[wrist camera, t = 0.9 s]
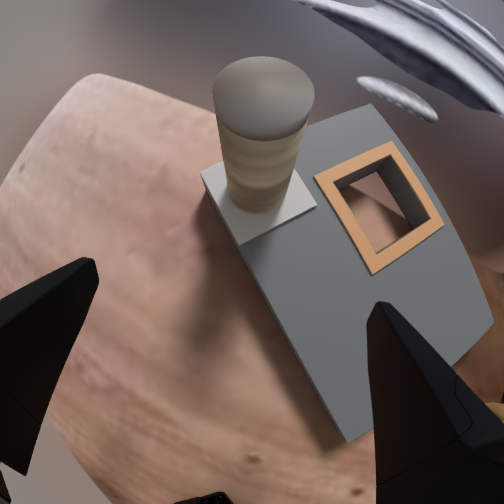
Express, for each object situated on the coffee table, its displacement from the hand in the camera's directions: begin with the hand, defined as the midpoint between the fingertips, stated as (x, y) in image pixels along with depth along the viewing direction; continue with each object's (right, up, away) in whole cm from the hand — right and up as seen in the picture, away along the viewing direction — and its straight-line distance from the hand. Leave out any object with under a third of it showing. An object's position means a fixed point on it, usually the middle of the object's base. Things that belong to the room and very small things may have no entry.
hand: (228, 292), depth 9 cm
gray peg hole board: (+9, 0, +14) cm, 17 cm away
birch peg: (+1, +6, +11) cm, 13 cm away
